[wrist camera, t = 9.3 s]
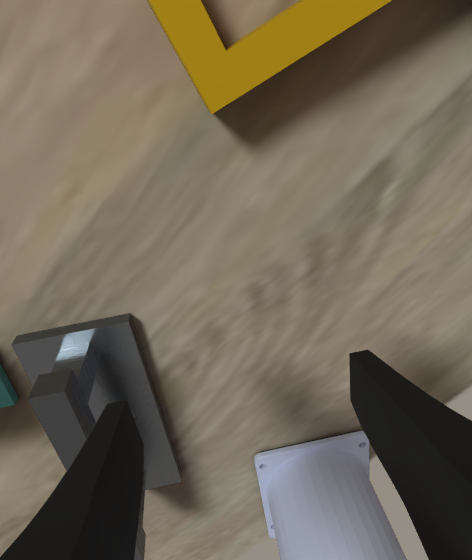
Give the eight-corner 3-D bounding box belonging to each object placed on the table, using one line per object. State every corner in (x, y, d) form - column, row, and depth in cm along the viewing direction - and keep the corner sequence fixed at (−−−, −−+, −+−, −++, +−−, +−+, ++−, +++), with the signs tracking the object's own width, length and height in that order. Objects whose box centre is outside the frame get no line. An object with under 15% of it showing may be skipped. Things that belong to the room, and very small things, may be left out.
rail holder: (181, 471, 28) (183, 552, 23) (94, 490, 28) (77, 576, 23) (129, 313, 22) (117, 380, 17) (16, 335, 22) (-27, 410, 17)
